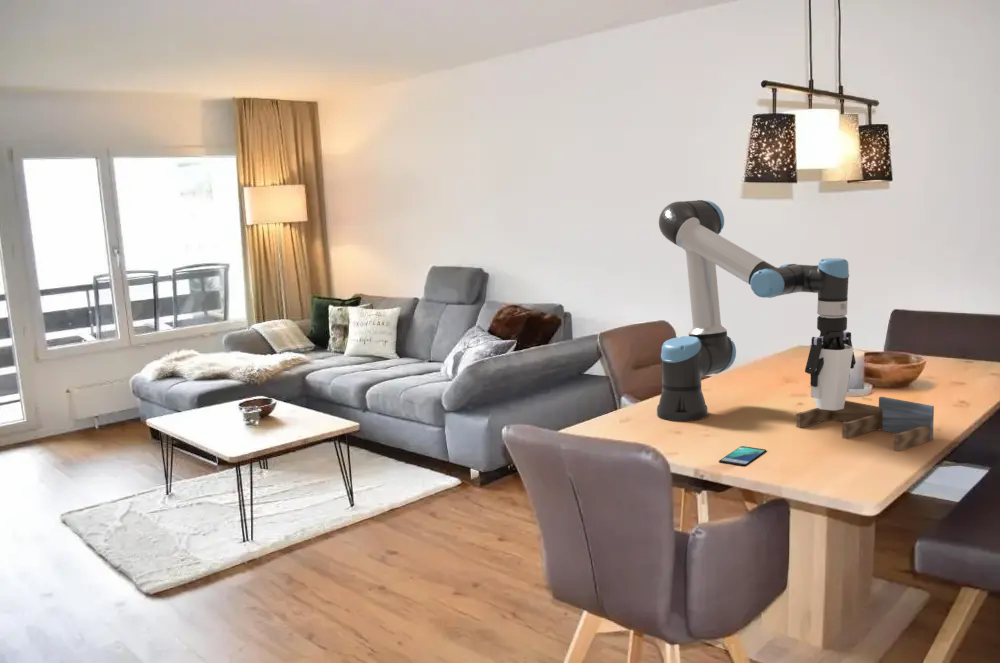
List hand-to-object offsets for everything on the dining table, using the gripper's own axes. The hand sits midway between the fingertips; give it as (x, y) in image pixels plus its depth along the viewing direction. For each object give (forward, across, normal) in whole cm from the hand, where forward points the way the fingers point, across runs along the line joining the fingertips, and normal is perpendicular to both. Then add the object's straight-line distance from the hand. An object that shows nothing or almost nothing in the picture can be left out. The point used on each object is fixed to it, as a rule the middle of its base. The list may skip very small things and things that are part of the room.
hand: (829, 394), depth 226 cm
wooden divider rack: (+10, +3, -8) cm, 13 cm away
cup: (+4, 0, 0) cm, 4 cm away
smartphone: (+11, -36, -2) cm, 37 cm away
